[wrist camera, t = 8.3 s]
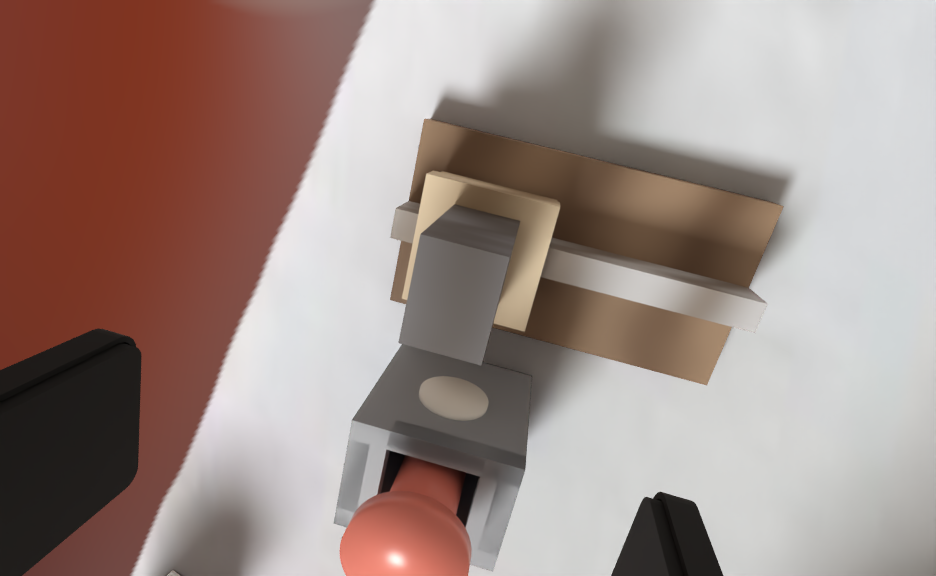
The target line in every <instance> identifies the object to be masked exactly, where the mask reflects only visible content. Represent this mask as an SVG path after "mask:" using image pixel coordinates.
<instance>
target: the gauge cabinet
mask: <svg viewBox="0 0 936 576" xmlns="http://www.w3.org/2000/svg"><path fill="white" fill-rule="evenodd" d="M531 382H532V376H530V375H526V374H523V373H519V372H515V371H512V370H508V369H504V368H501V367H497V366H494V365H490V364H486V363H483V362H482V365H477V364H473V363H470V362H466V361H462V360H459V359H455V358H451V357H448V356H444V355H441V354H437V353H433V352H430V351H426V350H422V349H419V348H415V347H411V346H408V345H404V344H402V345H401V347H400V348H399V350H398V351H397V353H396V354H395V356H394V357H393V359H392V360H391V362H390V363H389V365H388V366H387V368H386V369H385V371H384V373H383V374H382V376H381V377H380V379H379V380H378V382H377V383H376V385H375V386H374V388H373V389H372V391H371V392H370V394H369V395H368V397H367V398H366V400H365V401H364V403H363V404H362V406H361V407H360V409H359V410H358V412H357V413H356V415H355V416H354V418H353V419H352V423H351V429H350V434H349V440H348V446H347V451H346V457H345V463H344V468H343V474H342V480H341V485H340V491H339V496H338V502H337V508H336V513H335V519H334V524H337V525H341V526H344V527H348V525H349V523H350V521H351V519H352V517H353V515H354V513H355V511H356V510H357V509H358V508H359V506H360V505H361V504H362V503H364V502H365V501H366V500H368V499H370V498H371V497H373V496H376V495H378V494H381V493H385V492H390V490H391V487H392V485H393V483H394V480H395V478H396V476H397V473H398V471H399V469H400V466H401V464H402V462H403V459H404V457H405V455H407V456H411V457H414V458H418V459H421V460H424V461H428V462H431V463H435V464H438V465H442V466H445V467H449V468H452V469H455V470H459V471H462V472H466V476H465V480H464V484H463V488H462V493H461V497H460V501H459V505H458V509H457V513H456V516H457V517H458V518H459V519H460V521H461V522H462V523H463V525H464V527H465V528H466V530H467V532H468V535H469V538H470V541H471V548H472V553H471V561H470V565H473V566H476V567H479V568H483V569H486V570H489V571H493V570H494V567H495V563H496V560H497V557H498V554H499V551H500V548H501V545H502V541H503V538H504V535H505V532H506V529H507V526H508V522H509V519H510V516H511V513H512V510H513V507H514V504H515V500H516V497H517V494H518V491H519V488H520V485H521V482H522V478H523V475H524V472H525V465H526V451H527V437H528V423H529V409H530V396H531Z"/></svg>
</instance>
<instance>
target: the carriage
mask: <svg viewBox="0 0 936 576" xmlns="http://www.w3.org/2000/svg"><path fill="white" fill-rule="evenodd" d="M559 210H560V202H558V200H556V199H552V198H548V197H544V196H540V195H536V194H532V193H528V192H524V191H520V190H516V189H512V188H508V187H504V186H500V185H496V184H492V183H488V182H484V181H480V180H476V179H472V178H468V177H464V176H460V175H456V174H452V173H448V172H444V171H442V172H438V171H434V170H433V171H431V172H429V173H426V178H425V183H424V188H423V193H422V198H421V203H420V209H419V214H418V219H417V224H416V229H415V234H414V239H413V244H412V249H411V254H410V259H409V265H408V270H407V275H406V280H405V285H404V290H403V295H402V299H405V300H407V303H406V308H405V313H404V318H403V323H402V328H401V333H400V338H399V343H401V344H404V345H408V346H411V347H415V348H419V349H422V350H426V351H430V352H433V353H437V354H441V355H444V356H448V357H451V358H455V359H459V360H462V361H466V362H470V363H473V364H477V365H482V362H483V358H484V354H485V351H486V347H487V344H488V340H489V337H490V333H491V330H492V326H493V323H494V324H498V325H501V326H505V327H509V328H512V329H516V330H520V331H524V332H525V329H526V325H527V322H528V318H529V315H530V311H531V308H532V304H533V301H534V297H535V294H536V290H537V287H538V283H539V280H540V276H541V273H542V269H543V266H544V262H545V259H546V256H547V252H548V249H549V245H550V242H551V238H552V235H553V231H554V228H555V224H556V221H557V217H558V214H559Z"/></svg>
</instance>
